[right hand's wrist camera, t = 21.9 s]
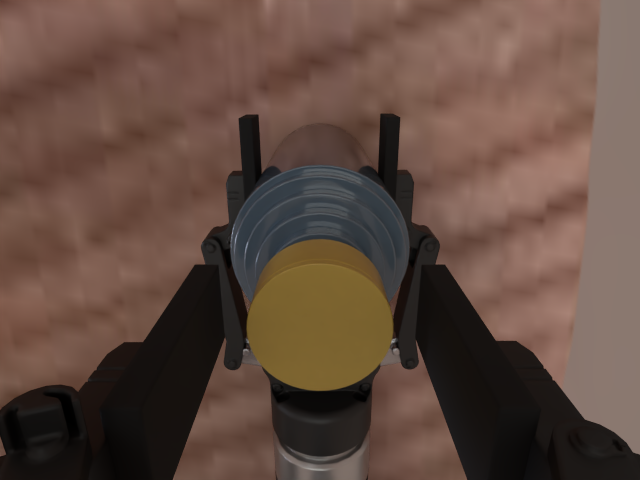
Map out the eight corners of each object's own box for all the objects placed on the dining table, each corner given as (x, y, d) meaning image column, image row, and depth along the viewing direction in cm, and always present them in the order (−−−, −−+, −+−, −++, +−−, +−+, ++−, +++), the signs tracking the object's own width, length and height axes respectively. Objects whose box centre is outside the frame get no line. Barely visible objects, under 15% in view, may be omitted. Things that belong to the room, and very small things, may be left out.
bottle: (311, 238, 36) (299, 452, 15) (251, 164, 34) (144, 299, 13) (387, 182, 34) (489, 339, 14) (329, 102, 32) (346, 145, 12)
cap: (246, 245, 14) (234, 271, 12) (380, 231, 14) (389, 256, 12) (266, 358, 16) (258, 397, 14) (387, 346, 15) (397, 384, 13)
